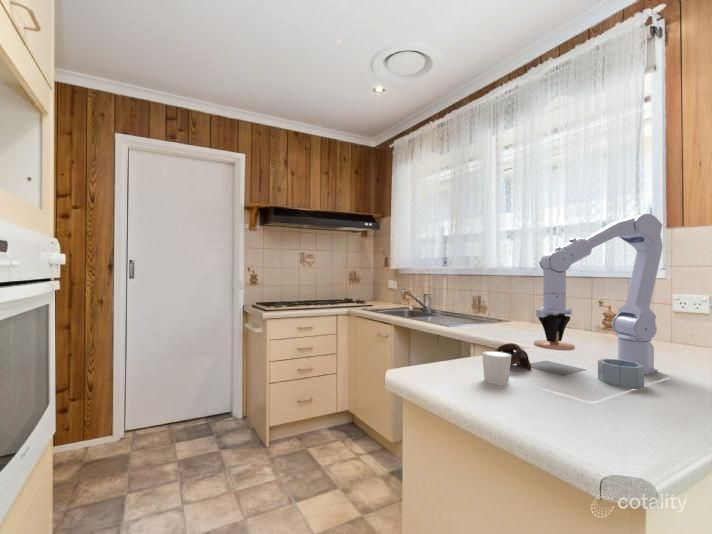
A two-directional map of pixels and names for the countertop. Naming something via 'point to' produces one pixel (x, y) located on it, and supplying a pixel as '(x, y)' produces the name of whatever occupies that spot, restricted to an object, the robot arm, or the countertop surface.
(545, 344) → the lid
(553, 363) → the mat
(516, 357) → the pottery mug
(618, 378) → the grey octagonal bowl
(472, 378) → the countertop surface
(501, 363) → the white tapered cylinder
